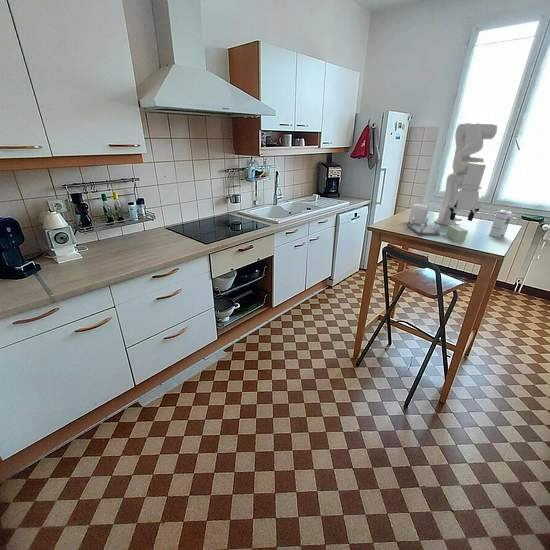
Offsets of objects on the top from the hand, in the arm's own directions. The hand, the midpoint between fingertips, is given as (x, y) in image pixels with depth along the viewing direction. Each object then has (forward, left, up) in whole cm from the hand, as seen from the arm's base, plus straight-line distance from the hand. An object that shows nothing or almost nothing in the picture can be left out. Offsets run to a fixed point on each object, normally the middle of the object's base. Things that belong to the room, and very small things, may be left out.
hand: (460, 220), depth 161 cm
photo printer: (+10, -30, -11) cm, 33 cm away
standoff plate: (+13, -13, -11) cm, 21 cm away
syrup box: (-28, -8, -11) cm, 31 cm away
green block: (0, -1, -11) cm, 11 cm away
